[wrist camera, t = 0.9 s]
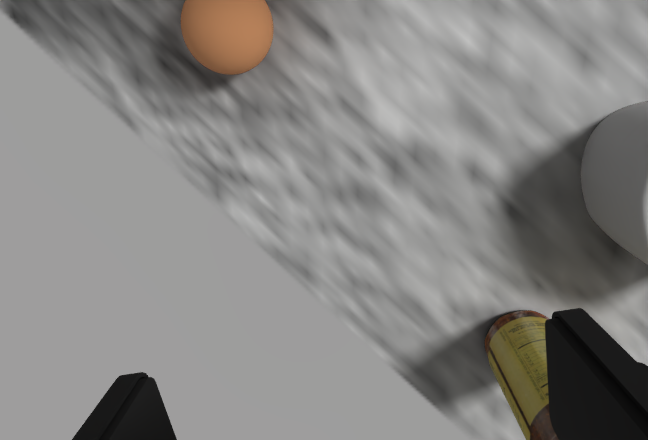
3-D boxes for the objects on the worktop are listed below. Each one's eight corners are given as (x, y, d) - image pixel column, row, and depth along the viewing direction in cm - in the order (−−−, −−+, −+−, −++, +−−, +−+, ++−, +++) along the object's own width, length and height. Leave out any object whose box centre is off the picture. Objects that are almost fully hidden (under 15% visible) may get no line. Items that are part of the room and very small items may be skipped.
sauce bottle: (546, 373, 38) (733, 674, 20) (473, 363, 38) (591, 655, 20) (569, 306, 36) (806, 576, 18) (492, 296, 36) (645, 555, 18)
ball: (188, -9, 30) (154, -22, 24) (270, -24, 29) (253, -41, 24) (208, 78, 31) (181, 83, 26) (286, 65, 31) (273, 68, 26)
